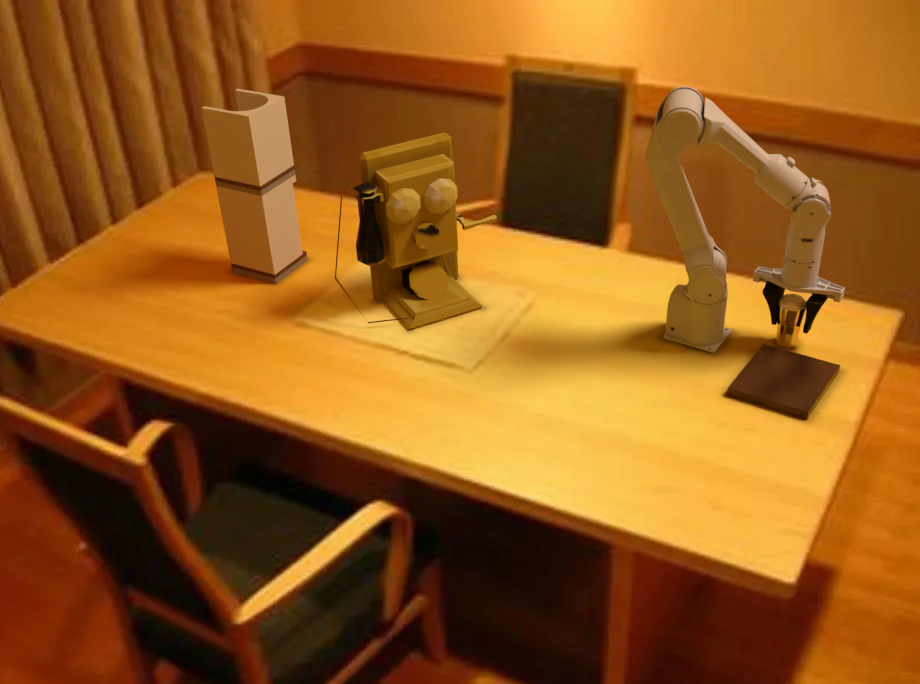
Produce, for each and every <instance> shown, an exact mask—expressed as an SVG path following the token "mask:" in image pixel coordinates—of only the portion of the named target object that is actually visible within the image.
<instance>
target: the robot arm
mask: <svg viewBox="0 0 920 684" xmlns="http://www.w3.org/2000/svg"><path fill="white" fill-rule="evenodd" d="M655 114H656V115H655V118H654V122H653V126H652V129H651V133H650V137H649V140H648V144H647V148H646V154H645V163H646V165H647V168H648V170H649V173H650V175H651V178H652V180H653V183H654V185H655V188H656V190H657V192H658V193H657V194H658V195H659V198H660V200H661V202H662V205H663V208H664V210H665V212H666V215H667V217H668V221H669V223H670V225H671V228H672V229H673V233H674V234H675V238H676V239H677V242H678V244H679V247H680V249H681V252H682V257H683V261H684V262H683V263H684V267H685V272H686V274H687V277H688V278H687V279H688V282H687V284H677V285H676V286H674V288H673V289H672V291H671V293H670V295H669V297H668V302H667V308H666V319H665V333H664V334H663V335H662V336H663V339H664V340H667V341H670V342H674V343H677V344H680V345H684V346H687V347H692V348H694V349H697V350H701V351H705V352H709V353H713V354H714V353H715V352H717V350H718V349H719V348H720V347H721V346H722V344H723V343H724V342H725V341H726V340H727V338H728V337H729V336H730V335H731V334H732V332H733V330H732V329H731V328H728V327H725V323H726V315H727V314H726V313H727V305H728V298H729V297H728V296H729V289H728V282H727V267H728V257H727V255H726V253H725V252H724V250H722V249H720V247H718V246H717V244H716V243H715V240H714V238H713V237H712V236H711V235H710V234H709V231H708V229H707V226H706V224H705V221H704V219H703V216H702V214H701V211H700V209H699V206H698V203H697V201H696V199H695V196H694V194H693V191H692V188H691V185H690V182H689V181H688V178H687V175H686V172H685V170H684V168H683V166H682V163H681V160H680V157H681V155H682V154H683V152H684V151H685V150H686V149H687V148H688V147H690V146H691V145H692V144H693V143H695V142H696V140H697V146H699V147H700V146H703V147H704V146H707V145H714V144H715V145H717V146H719V147H720V148H721V149H723V151H725V152H727V153H728V154H729V155H731V156H732V157H733V158H735V159H736V160H738V161H739V162H740V163H741V164H743V165H744V166H745V167H747V168H748V169H750V170H751V171H752V172H753V181H754V182H753V183H754V184H755V185H756V186H757V187H759V188H760V189H761V190H762V191H763V192H764V193H766V194H767V195H768V196H769V197H771V198H772V199H773V200H774V201H775V202H776V203H777V204H779V205H780V206H781V207H783V208H784V209H787V210H789V211H791V213H790V215H791V216H790V222H789V226H788V228H787V232H786V240H785V247H784V253H783V260H782V266H781V268H772V267H771V268H770V267H763V266H758V267H757V268H756V269H755V270H753V276H752V282H754V283H760V282H764V283H765V284H764V287H763V288H762V295H763V297H764V300H765V301H766V304H767V307H768V309H769V314H770V320H771V322H770V323H771V325H772V326H773V325H774V326H777V325H778V306H779V299H780V298H781V297H782V296H784V295H785V292H786V290H787V291H789V292H793V293H801V294H802V293H803V294H811V295H810V296H809V297H808V299H807V300H806V311H805V319H804V324H803V328H802V333H803V334H808V333H809V332H810V330H811V329H812V326H813V324H814V321H815V319H816V317H817V315H818V314H819V311H820V310H821V308H822V307H823V305H824V304H825V303H826V302H827V300H828V299H832V301H833V302H835V303H841V301H842V300H843V299H844V296H845V291H846V287H845V286H842V285H838V284H836V283H834V282H832V281H829V280H827V279H825V278H823V277H820V276H819V271H820V268H821V267H820V265H821V260H822V255H823V249H824V242H825V237H826V226H827V224H828V223H829V222H830V220H831V218H832V217H833V213H832V207H831V200H830V199H831V198H830V193H829V190H828V188H827V186H825V184H824V182H823V181H822V180H820V179H816V178H814V177H813V176H812V177H810V178H809V177H808V176H807V175H806V174H805V173H804V172H802V171H801V170H800V169H799V168H798V167H796V160H795V159H794V158H793V157H791V156H788V157H784V156H783V155H782V154H781V153H768V152H766V151H765V150H764V149H763V148H762V147H761V146H760V145H759V144H757V142H755V140H753V139H752V137H750V136H749V135H748V134H747V133H746V132H745V131H744V130H743V129H742V128H741V127H739V125H737V124H736V123H735V122H734V121H733V120H732V119H731V118H730V117H729V116H727V115H726V113H725V112H724V111H722V110H721V108H720V107H719V106H717V105H716V103H714V101H712V100H711V99H709V98H708V97H704V98H703V95H702V93H701V92H700V91H699V90H698V89H696V88H694V87H692V86H686V85H683V86H677V87H675V88H673V89H671V90H670V91H669V92H668V93H667V95H666V96H665V97H664V98H663V99H662V102H661V103H660V105H659V106H658V107H657V111H656V113H655Z"/></svg>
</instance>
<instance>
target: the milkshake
mask: <svg viewBox="0 0 920 684" xmlns="http://www.w3.org/2000/svg"><path fill="white" fill-rule="evenodd" d="M806 301H807V300H806V299H805V297H804V296H802V295H800V294H797V293H786V294H784V296H782V297H781V298H780V299H779V306H778V322H777V324H776V326H777V328H776V339H775V341H776V344H777V345H778V346H779V347H782V348H793V347H795V346H796V344H797V342H798V339H799V335H800V330H801V327H802V323H803V320H804V317H805V315H806Z"/></svg>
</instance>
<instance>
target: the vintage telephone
mask: <svg viewBox="0 0 920 684" xmlns="http://www.w3.org/2000/svg"><path fill="white" fill-rule="evenodd" d="M452 144H453V143H452V136H450V134H448V133H446V132H441V133H435V134H433V135H429V136H424V137H420V138H417V139H412V140H408V141H404V142H400V143H395V144H392V145H388V146H383V147H380V148H375V149H371V150H368V151H364V152H362V153H361V154H360V155H359V156H358V164H359V173H360V174H359V176H360V184H358V185H356V186H354V187H353V188H352V194H353V196H354V197H355V199H356V200H357V209H358V210H357V211H358V218H359V221H358V222H359V223H358V229H357V235H356V241H355V250H356V260H357V261H358V262H360V263H362V264H364V265H366V266H368V267H369V270H370V280H371V288H372V297H373V298H372V299H373V301H374V302H375V303H382V302H385V303H386V305H388V306H389V308H390V309H391V310H392V311H393V312H394V314H396V315H397V317H398V318H391V319H384V320H374V321H367V320H366V318H364V319H365V321H367V324H374V323H383V322H391V321H392V322H393V321H400V320H401V321H402V322H403V323H404V325H405V326H406V327H407V328H408V329H409V330H415V329H417V328H420V327H424V326H427V325H430V324H434V323H437V322H440V321H443V320H447V319H450V318H453V317H456V316H457V317H458V316H460V315H463V314H467V313H470V312H473V311H476V310H479V309H483V307H484V305H483V304H482V303H481V302H479V301H478V299H476V298H475V297H474V296H473V294H471V293H470V292H469V291H468V290H467V289H466V288H465V287H464V286H463V285H462V284H461V283H459V282H458V279H459V261H458V260H459V259H458V251H459V238H458V222H459V224H461V228H462V230H463V231H466V230H469V229H472V228H475V227H478V226H482V225H487V224H488V225H489V224H492V223H493V224H494V223H496V222H497V220H498V216H496V214H493V215H489V216H487V217H484V218H482V219H478V220H473V221H469V222H468V221H467V220H466V219H465V218H464V216H463V215H462V214H461V212H457V200H458V198H459V197H458V196H459V195H458V186H457V184H456V180H455V162H454V161H453V145H452ZM349 183H350V181H348V183H347V184H346V185H345V188H344V190H343V191H342V193H341V195H340V204H339V219H338V231H337V243H336V255H335V269H334V280H335V281H336V282H337V283H338V285H339V286H340V287H341V289H342V290H343V292H344V294H346V296H347V297H348V298H349V299H350V301H351V302H352V304H353V305H354V306H355V308H356V309H357V310H358V312H359V313H360V314H361V316H362V317H364V315H363V314H362V312H361V311H360V310H359V308H358V307H357V305H356V304H355V302H354V301H353V300H352V298H351V297H350V295H349V294H348V292H347V291H346V289H345V288H344V287H343V285H342V284H341V282H340V280H339V279H338V278H337V269H338V256H339V242H340V231H341V219H342V204H343V196H344V193H345V191H346V189H347V187H348V184H349Z"/></svg>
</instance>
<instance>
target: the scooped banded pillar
mask: <svg viewBox="0 0 920 684" xmlns="http://www.w3.org/2000/svg"><path fill="white" fill-rule="evenodd" d="M234 94H235V99H236V106H237V110H236V111H235V110H227V109H223V108H216V107H212V106H202V107H201V114H202V119H203V123H204V129H205V135H206V139H207V145H208V151H209V155H210V162H211V166H212V172H213V177H214V181H215V188H216V193H217V198H218V204H219V209H220V214H221V219H222V225H223V229H224V235H225V240H226V246H227V251H228V257H229V262H230V266H231V272H232V273H235V274H238V275H242V276H245V277H250V278H253V279H257V280H261V281H265V282H267V283H272V284H275V285H277V284H278V283H280V282H281V281H282V280H283V279H285V278H286V277H288V276H289V275H290V274H291V273H293V272H294V271H296V269H298V268H299V267H300V266H302V265H303V264H305V263H306V262H308V253H307V251H306V250H303V246H302V238H301V231H300V224H299V217H298V210H297V203H296V196H295V189H294V183H296V182H297V176H296V170H295V162H294V155H293V148H292V142H291V141H292V140H291V135H290V128H289V127H290V126H289V120H288V113H287V106H286V99H285V95H284V96H283V95H278V94H272V93H265V92H260V91H254V90H248V89H242V88H236V89H234Z"/></svg>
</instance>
